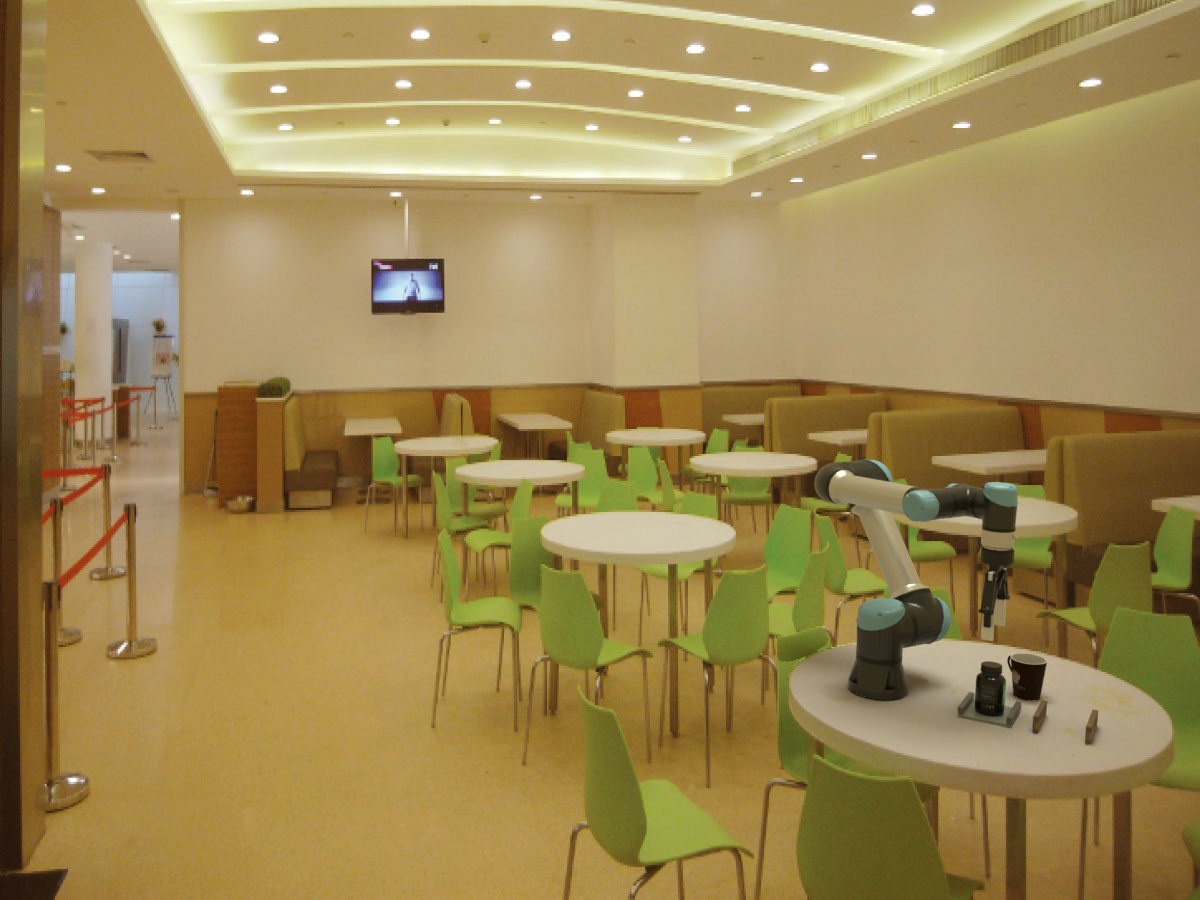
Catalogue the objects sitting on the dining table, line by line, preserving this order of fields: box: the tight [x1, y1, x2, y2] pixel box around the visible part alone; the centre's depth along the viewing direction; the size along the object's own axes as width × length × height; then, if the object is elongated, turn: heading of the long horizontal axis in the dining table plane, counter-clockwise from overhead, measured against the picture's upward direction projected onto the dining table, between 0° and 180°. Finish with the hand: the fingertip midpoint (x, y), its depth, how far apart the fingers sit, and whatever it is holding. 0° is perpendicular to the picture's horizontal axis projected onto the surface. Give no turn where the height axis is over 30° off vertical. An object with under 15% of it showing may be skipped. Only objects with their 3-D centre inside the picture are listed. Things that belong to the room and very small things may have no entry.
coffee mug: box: [1006, 652, 1048, 702], centre depth 254 cm, size 12×9×10 cm
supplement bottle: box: [974, 660, 1007, 716], centre depth 241 cm, size 7×7×12 cm
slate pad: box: [957, 691, 1022, 729], centre depth 241 cm, size 12×12×2 cm
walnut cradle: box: [1031, 699, 1099, 745], centre depth 232 cm, size 12×12×4 cm
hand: (993, 632), depth 239 cm, fingers open, 13 cm apart
